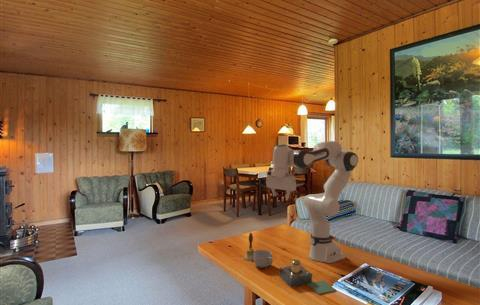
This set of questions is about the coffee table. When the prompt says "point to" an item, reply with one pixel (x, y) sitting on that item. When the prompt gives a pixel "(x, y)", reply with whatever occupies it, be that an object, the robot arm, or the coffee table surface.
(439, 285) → the coffee table surface
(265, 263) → the teacup
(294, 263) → the plug
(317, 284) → the coaster
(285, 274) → the housing
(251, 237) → the hand bell
